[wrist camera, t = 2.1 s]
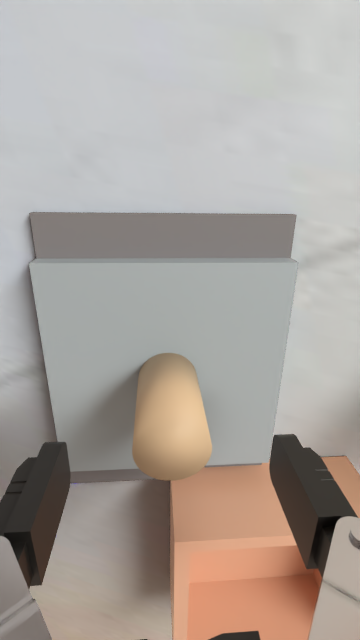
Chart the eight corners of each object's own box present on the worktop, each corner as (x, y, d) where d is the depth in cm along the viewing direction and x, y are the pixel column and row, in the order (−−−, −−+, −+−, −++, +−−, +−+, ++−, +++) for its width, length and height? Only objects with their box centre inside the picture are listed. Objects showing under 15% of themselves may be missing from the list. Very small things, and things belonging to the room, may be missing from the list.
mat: (32, 212, 15) (29, 213, 15) (293, 214, 16) (296, 215, 15) (71, 478, 21) (70, 483, 21) (258, 469, 22) (260, 474, 22)
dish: (170, 463, 21) (174, 542, 17) (346, 456, 22) (397, 528, 17) (169, 579, 26) (173, 666, 21) (316, 569, 26) (351, 650, 22)
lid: (36, 258, 15) (-31, 301, 10) (290, 257, 16) (361, 297, 11) (66, 458, 20) (32, 564, 14) (263, 450, 21) (303, 547, 15)
